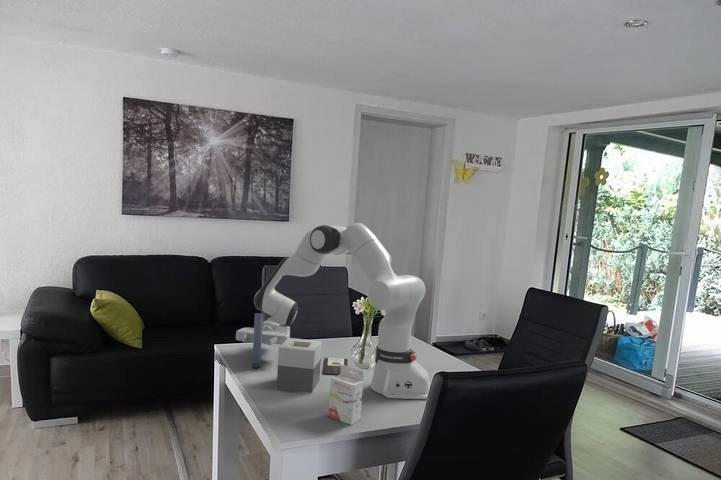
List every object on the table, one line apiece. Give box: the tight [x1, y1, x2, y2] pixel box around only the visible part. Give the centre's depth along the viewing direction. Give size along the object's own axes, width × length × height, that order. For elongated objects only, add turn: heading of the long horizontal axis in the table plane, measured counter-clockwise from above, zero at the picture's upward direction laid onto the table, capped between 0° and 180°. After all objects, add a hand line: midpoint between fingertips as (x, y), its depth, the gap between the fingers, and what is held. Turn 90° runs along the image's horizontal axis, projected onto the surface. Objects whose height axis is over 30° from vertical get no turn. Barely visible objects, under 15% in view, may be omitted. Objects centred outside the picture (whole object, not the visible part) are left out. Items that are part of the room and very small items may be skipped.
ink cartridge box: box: [327, 365, 364, 426], centre depth 141 cm, size 9×5×15 cm, turn 58°
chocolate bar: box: [322, 357, 348, 376], centre depth 187 cm, size 9×1×18 cm
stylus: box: [251, 312, 264, 370], centre depth 179 cm, size 3×3×20 cm
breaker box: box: [275, 337, 323, 394], centre depth 165 cm, size 12×12×14 cm
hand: (256, 341), depth 178 cm, fingers open, 8 cm apart
